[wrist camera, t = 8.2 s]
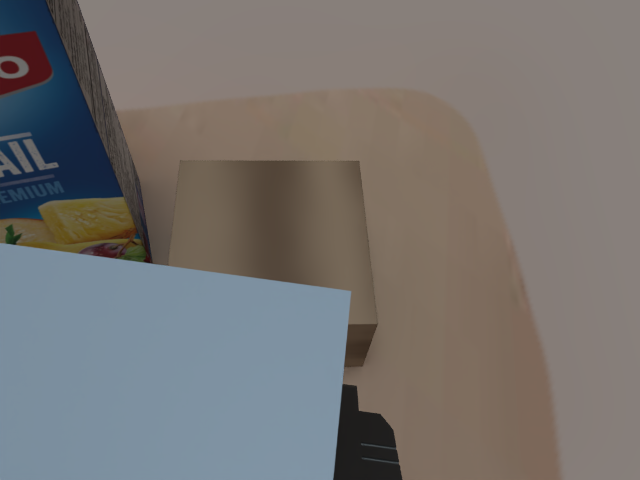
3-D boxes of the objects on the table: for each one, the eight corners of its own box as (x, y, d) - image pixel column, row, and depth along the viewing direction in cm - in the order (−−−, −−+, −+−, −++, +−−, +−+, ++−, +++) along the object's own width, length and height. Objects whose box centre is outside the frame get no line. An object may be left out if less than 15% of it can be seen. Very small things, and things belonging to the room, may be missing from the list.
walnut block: (180, 372, 30) (160, 328, 25) (194, 221, 35) (180, 160, 30) (361, 367, 31) (377, 323, 26) (348, 221, 36) (359, 160, 31)
